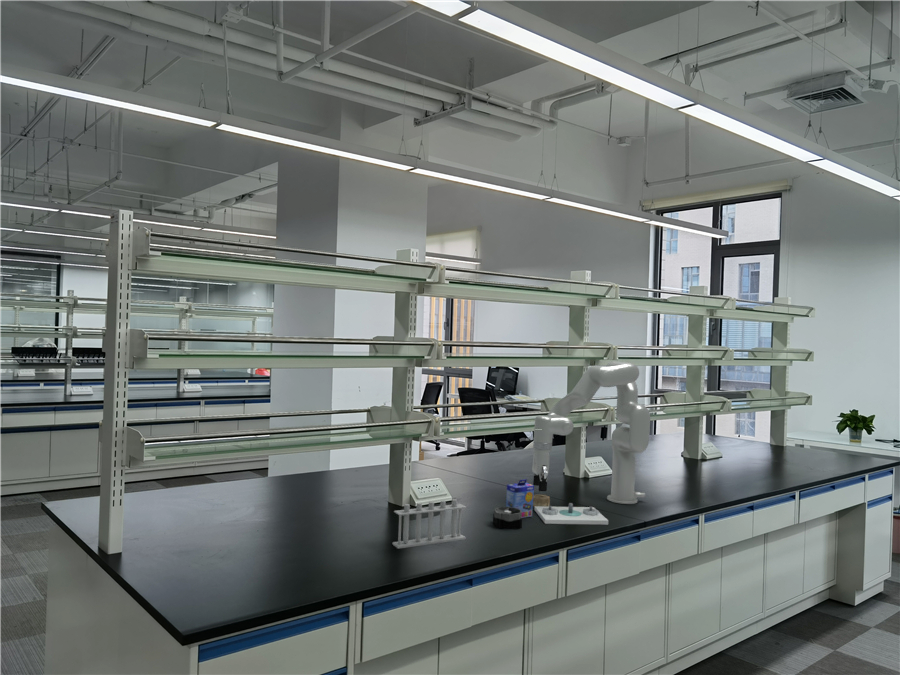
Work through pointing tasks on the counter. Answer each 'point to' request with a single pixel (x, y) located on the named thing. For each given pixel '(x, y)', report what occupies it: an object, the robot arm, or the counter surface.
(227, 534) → the counter surface
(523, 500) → the ink cartridge box
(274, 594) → the counter surface
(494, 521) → the cpu cooler
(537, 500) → the maple gear
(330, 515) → the counter surface
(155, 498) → the counter surface
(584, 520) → the gear board
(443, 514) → the test tube rack
